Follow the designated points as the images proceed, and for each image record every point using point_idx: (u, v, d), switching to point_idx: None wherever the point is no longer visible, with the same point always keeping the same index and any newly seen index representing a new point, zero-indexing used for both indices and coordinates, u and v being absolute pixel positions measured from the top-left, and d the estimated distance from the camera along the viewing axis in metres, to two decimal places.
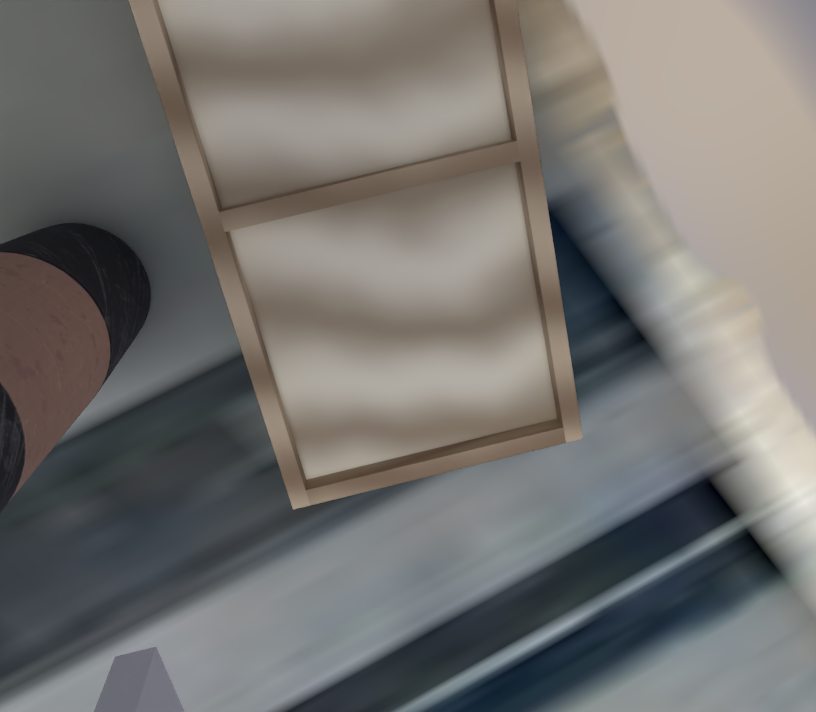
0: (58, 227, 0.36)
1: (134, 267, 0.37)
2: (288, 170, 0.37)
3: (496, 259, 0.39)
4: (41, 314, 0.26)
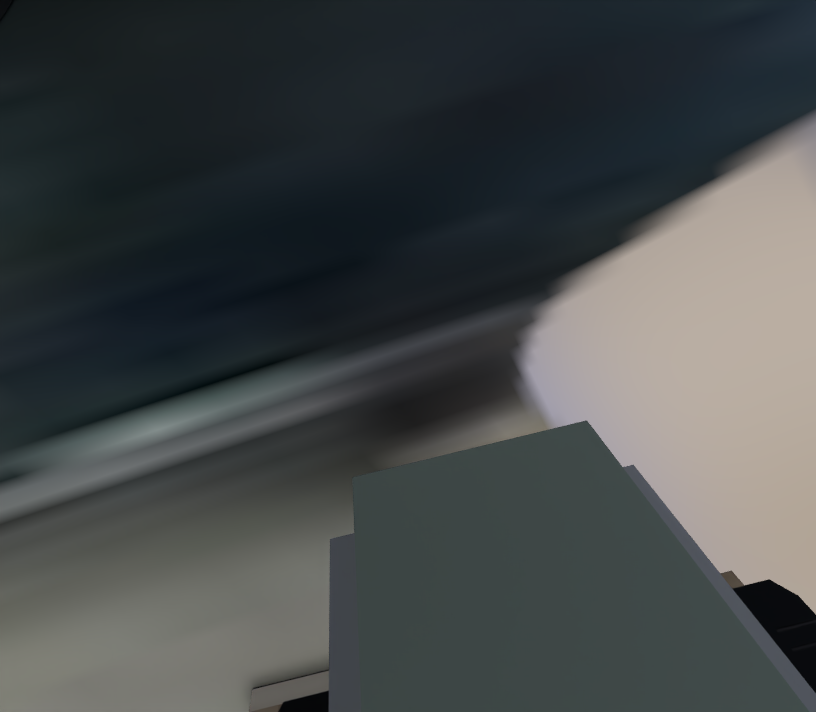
0: None
1: None
2: None
3: None
4: None
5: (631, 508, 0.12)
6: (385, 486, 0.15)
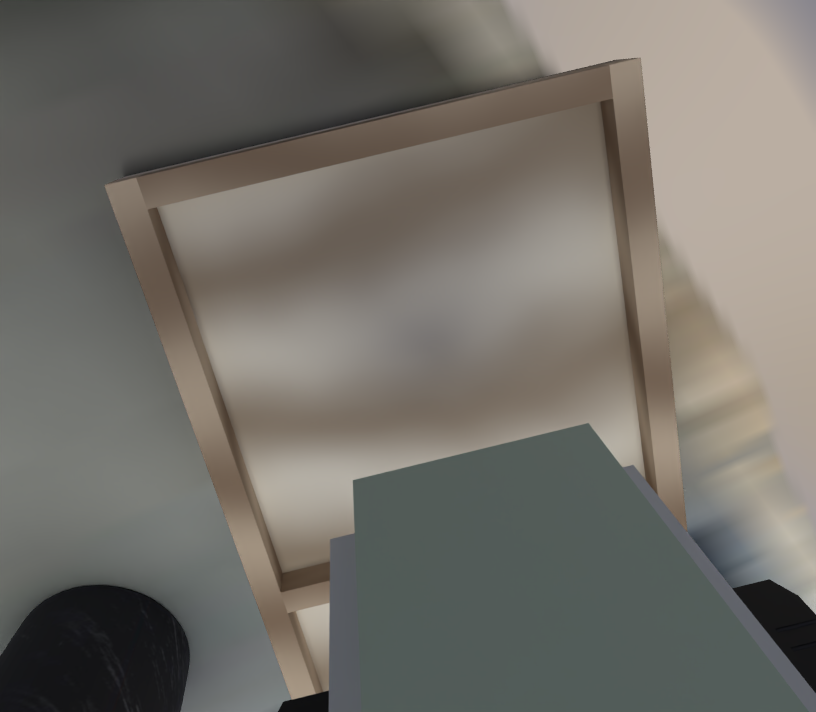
0: (77, 614, 0.28)
1: (171, 647, 0.29)
2: None
3: None
4: None
5: (633, 512, 0.12)
6: (386, 488, 0.14)
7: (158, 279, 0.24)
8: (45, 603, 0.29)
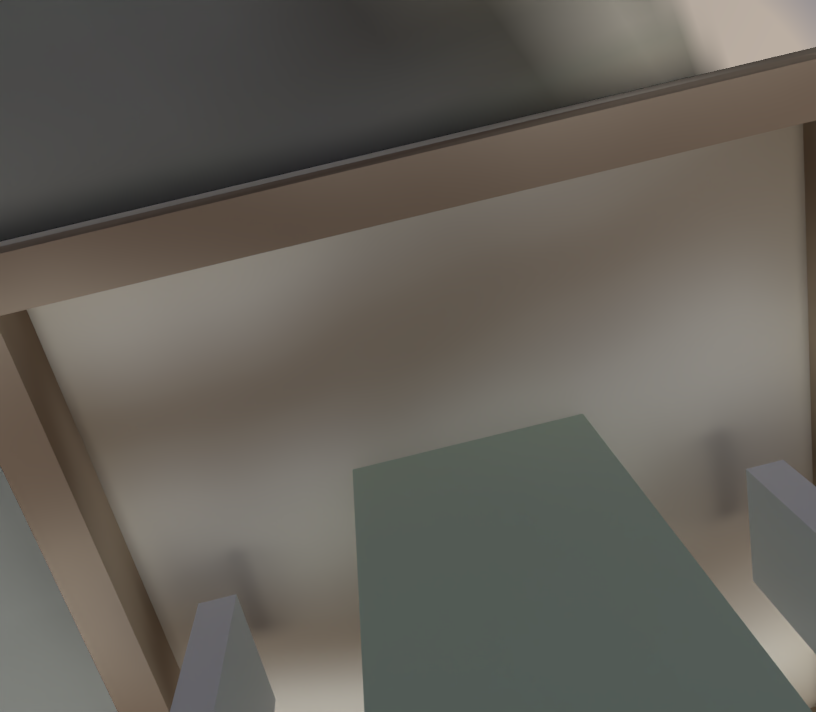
0: None
1: None
2: None
3: None
4: None
5: (625, 499, 0.12)
6: (385, 478, 0.15)
7: (22, 436, 0.13)
8: None
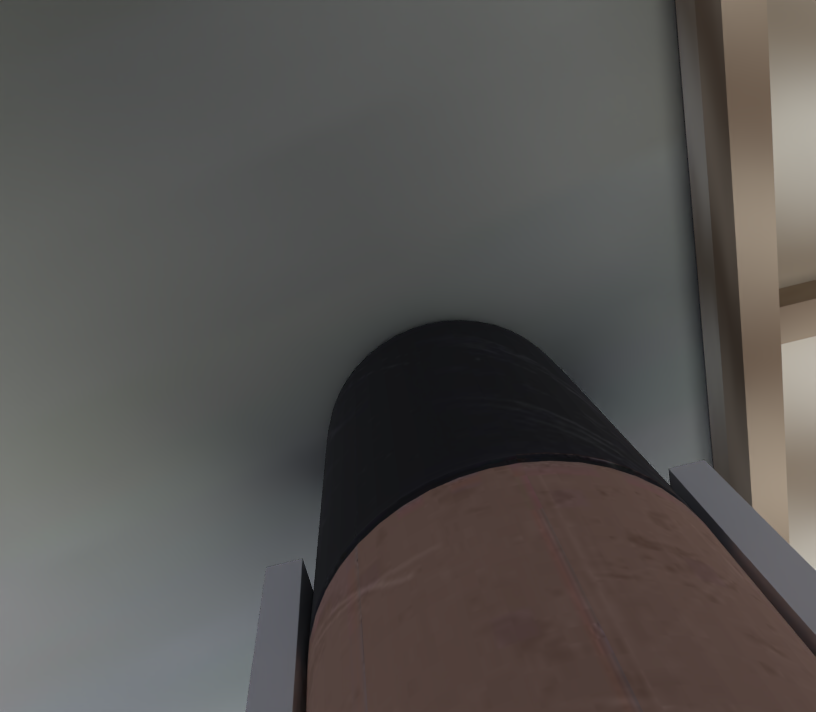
0: (467, 337, 0.18)
1: None
2: None
3: None
4: None
5: None
6: None
7: None
8: (392, 341, 0.19)
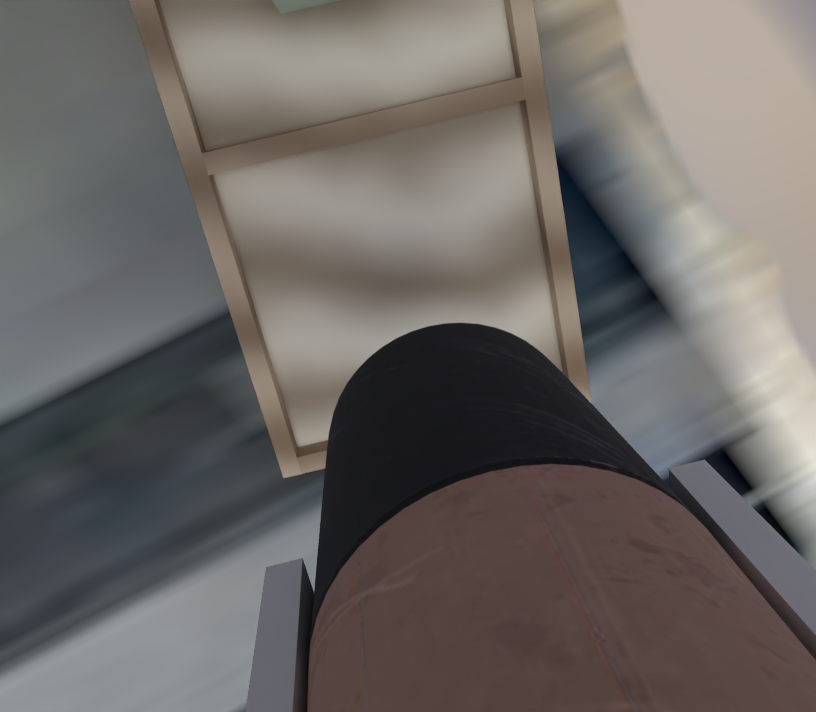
0: (468, 340, 0.18)
1: None
2: (276, 110, 0.34)
3: (499, 209, 0.37)
4: None
5: None
6: None
7: None
8: (392, 343, 0.19)
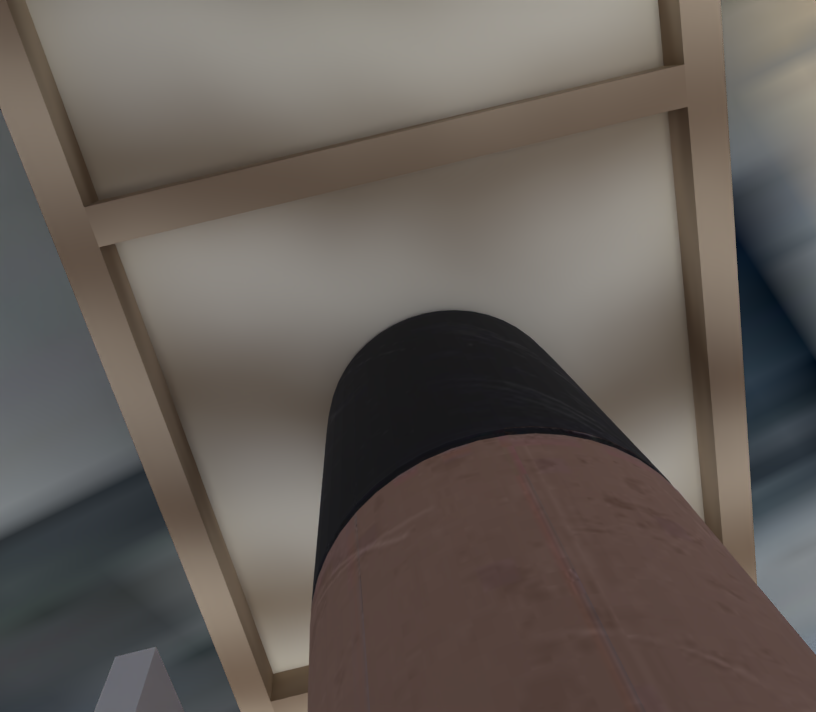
0: (461, 325, 0.19)
1: None
2: (227, 126, 0.19)
3: (621, 296, 0.21)
4: None
5: None
6: None
7: None
8: (389, 330, 0.20)
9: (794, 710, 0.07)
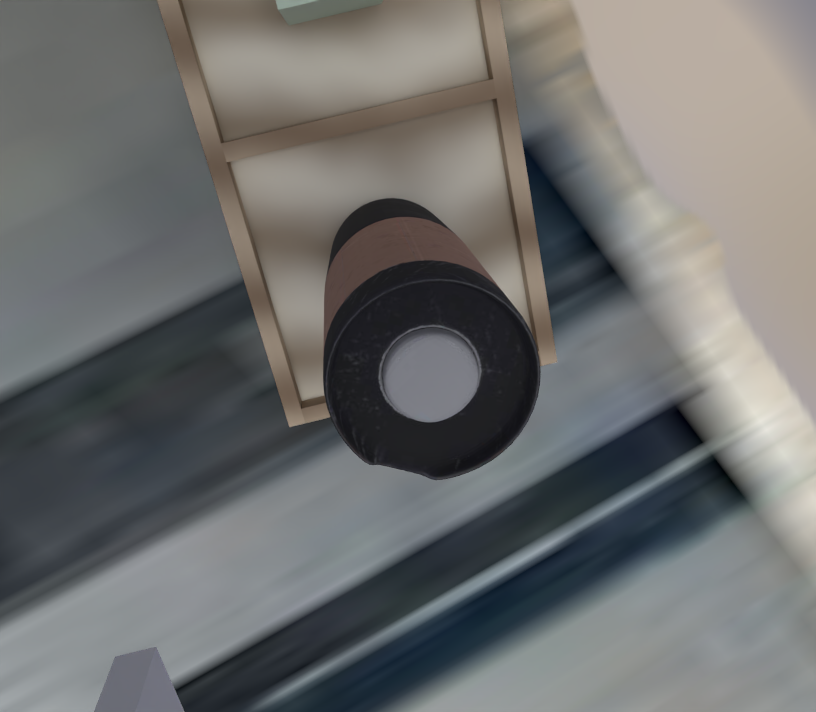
0: (393, 200, 0.41)
1: None
2: (284, 107, 0.40)
3: (476, 192, 0.43)
4: None
5: None
6: None
7: None
8: (360, 207, 0.42)
9: (449, 246, 0.29)
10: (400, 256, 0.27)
